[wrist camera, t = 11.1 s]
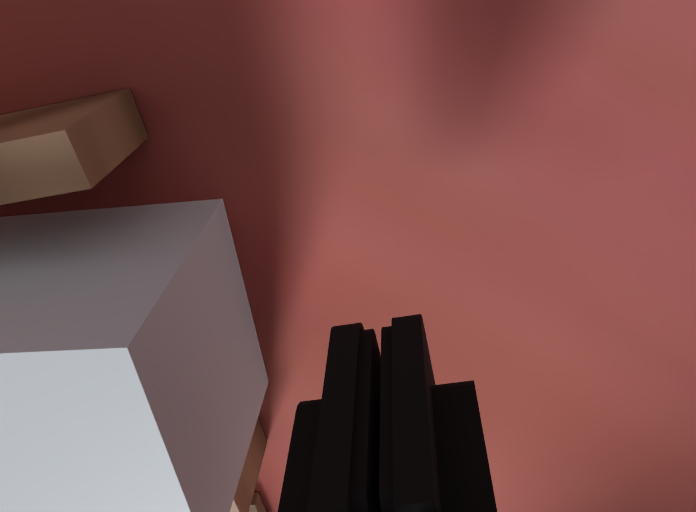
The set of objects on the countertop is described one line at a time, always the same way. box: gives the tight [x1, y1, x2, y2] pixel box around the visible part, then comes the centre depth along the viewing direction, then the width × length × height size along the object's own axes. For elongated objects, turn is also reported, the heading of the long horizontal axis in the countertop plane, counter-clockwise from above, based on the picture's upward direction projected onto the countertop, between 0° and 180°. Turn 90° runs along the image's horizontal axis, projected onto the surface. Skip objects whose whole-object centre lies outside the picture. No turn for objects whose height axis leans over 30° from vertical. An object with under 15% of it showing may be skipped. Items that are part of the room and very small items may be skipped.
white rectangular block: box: [0, 199, 269, 512], centre depth 15 cm, size 8×6×6 cm
